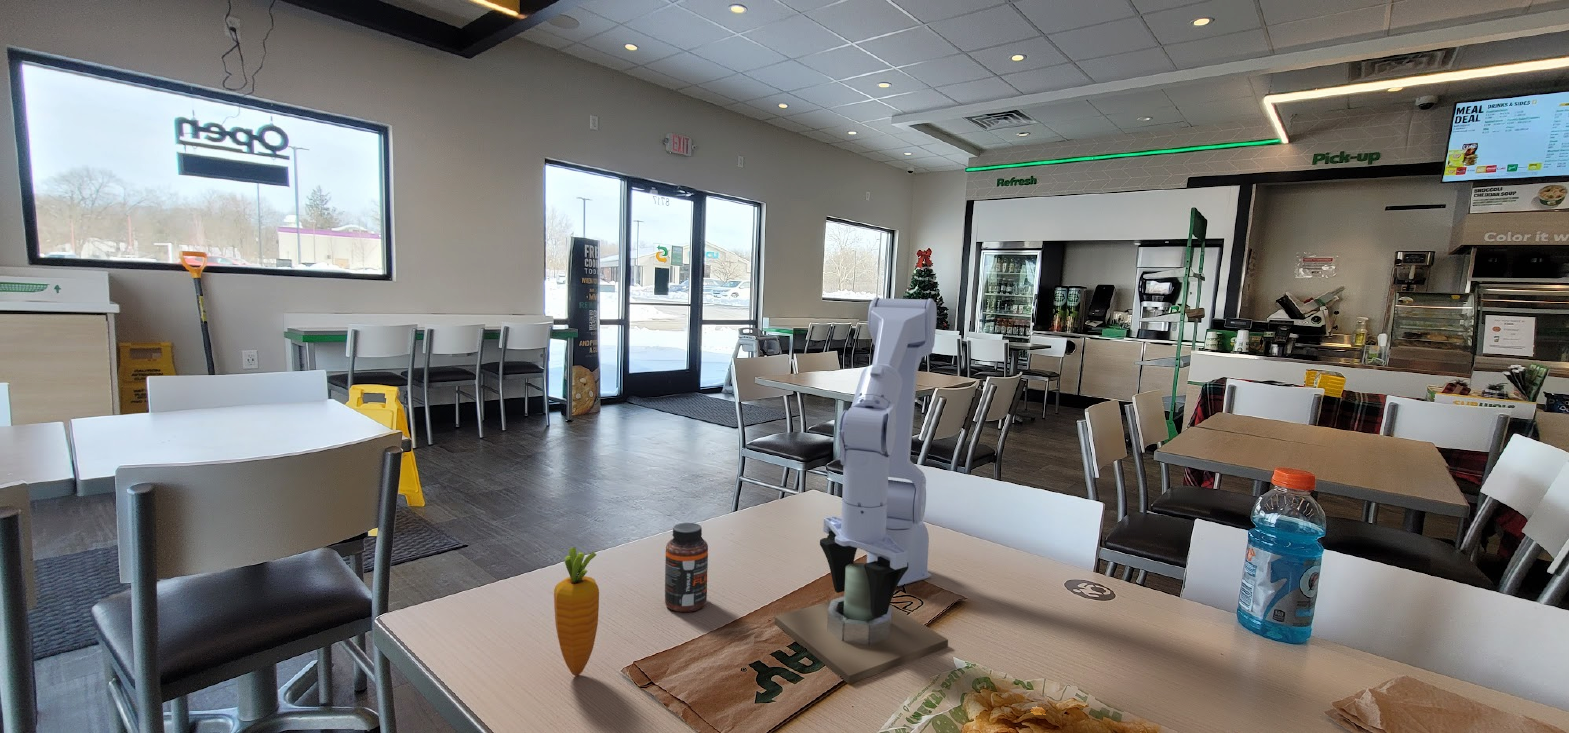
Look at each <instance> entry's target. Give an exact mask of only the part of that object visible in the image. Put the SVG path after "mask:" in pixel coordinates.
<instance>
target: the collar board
mask: <svg viewBox="0 0 1569 733" xmlns="http://www.w3.org/2000/svg"><path fill="white" fill-rule="evenodd" d="M832 600H833V599H832ZM832 600H829V601H828V600H827V601H825V602H821V603H818V604H815V605H811V606H807V607H803V608H800V609H796V610H793V611H790V612H789V611H788V612H785V613H782V614H778V615H775V616H774V624H775V625H776V626H777V627H778V628H779V629H781V631H783V630H784V631H785V632H784V631H783V632H784V633H786V635H788V634H789V635H790V636H789V635H788V636H789V637H791V638H792V639H793V640H794V641H795V642H796V643H798V644H799V645H800V646H801V645H802V648H804V649H805V648H806V649H807V650H806V649H805V650H806V651H808V652H809V653H810V654H811V655H813V656H814V658H816V659H817V660H819V661H820V663H822V664H823V663H824V666H826V667H827V668H828V667H829V670H831V671H832V672H833V671H834V672H835V673H834V672H833V673H834V674H835V675H837V674H838V675H840V676H841V677H842V678H843V679H842V678H841V677H840V678H841V679H842V680H843V681H844V682H845V683H847V684H848V685H851V684H854V683H857V682H859V681H861V680H863V679H867V678H868V677H872V676H874V675H877V674H880V673H882V672H885V671H888V670H891V669H893V668H895V667H898V666H901V665H904V664H906V663H907V664H908V663H909V662H911V661H914V660H917V659H920V658H922V657H925V656H928V655H930V654H933V653H935V652H938V651H941V650H943V649H946V648H948V647H949V646H948V644H949V639H948V638H946V637H944V636H943V635H941V634H939V633H938V632H936V631H934V630H933V629H931V628H930V627H928V626H926V625H925V624H923V623H922V622H919V621H918V620H917V619H915V618H913V617H912V616H910V615H908V614H907V613H905V612H903V611H901V610H900V609H898V608H896V607H895V606H893V605H891V604H890V607H891V627H890V636H889V638H888V639H886V640H883V641H880V642H877V643H874V644H871V645H870V644H868V645H865V644H858V643H850V642H844V640H843V641H841V640H840V639H839V638H837V637H836V636H835V635H833V634H832V633H831V632H829V631H828V629H827V619H828V609H829V606H830V602H831V601H832ZM838 675H837V676H838Z"/></svg>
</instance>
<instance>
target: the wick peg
mask: <svg viewBox="0 0 1569 733" xmlns="http://www.w3.org/2000/svg"><path fill="white" fill-rule="evenodd" d="M864 564H865V563H863V562H854V563H852V564H849V565H847V566H846V570H845V591H844V594H843V597H844V617H845V618H847V619H851V620H859V621H866V622H868V621H871V620H874V616H872V613H871V607H870V586H869V581H868V577H867V573H866V571H865V568H864Z"/></svg>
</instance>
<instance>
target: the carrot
mask: <svg viewBox="0 0 1569 733" xmlns="http://www.w3.org/2000/svg"><path fill="white" fill-rule="evenodd" d="M585 555H586V554H585V553H584V552H580V551H578V553H577V549H576V547H575V546H574V547H570V548H569V549H568V555H567V556H565V557H564V564H565V567H566V570H567V572H568V574H569V576H568V577H566V578H564V579H563V580H561V581H560V582H558V583H556V585H555V586H554V589H553V603H554V605H553V606H554V617H555V618H554V619H555V620H554V621H555V627H556V628H555V629H556V634H557V639H558V642H559V643H558V644H559V647H560V651H561V654H562V655H561V656H562V657H563V660H564V662H565V664H566V666H567V668H568V669H569V671H570V673H571V675H573V676H575V677H579V676H580V675H581V674H582V673H583V672H584V670H585V668H586V666H587V664H588V662H589V660H590V657H591V655H592V652H593V650H594V646H595V641H596V636H597V630H598V625H599V612H600V611H599V609H600V605H599V604H600V589H599V586H598V583H597V582H596V580H595V578H593V577H591V576H585V575H586V574H587V573H588V570H587V569H586V568H587V565H588V564H589V563H590V561H592V560H593V559H594V558H595V557H596V556H597V554H596V553H595V552H592V553H590V554H589V555H588V556H586V557H585ZM584 558H585V559H584Z"/></svg>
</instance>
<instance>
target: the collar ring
mask: <svg viewBox="0 0 1569 733" xmlns="http://www.w3.org/2000/svg"><path fill="white" fill-rule="evenodd" d="M830 601H831V600H830ZM890 627H891V607H890V606H889V609H888V612H887V614H885V615H882V616H879V617H874V620H871V621H868V622H866V621H859V620H851V619H847V618H845V617H844V596H840V597H837V598H832V601H831V602H830V606H829V609H828V619H827V629H828V631H829V632H831V633H832V634H833V635H835V636H836V637H837V638H839V639H840V640H841V641H843V640H844V642H850V643H858V644H865V645H868V644H870V645H871V644H874V643H877V642H880V641H883V640H886V639H888V638H889V636H890Z"/></svg>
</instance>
